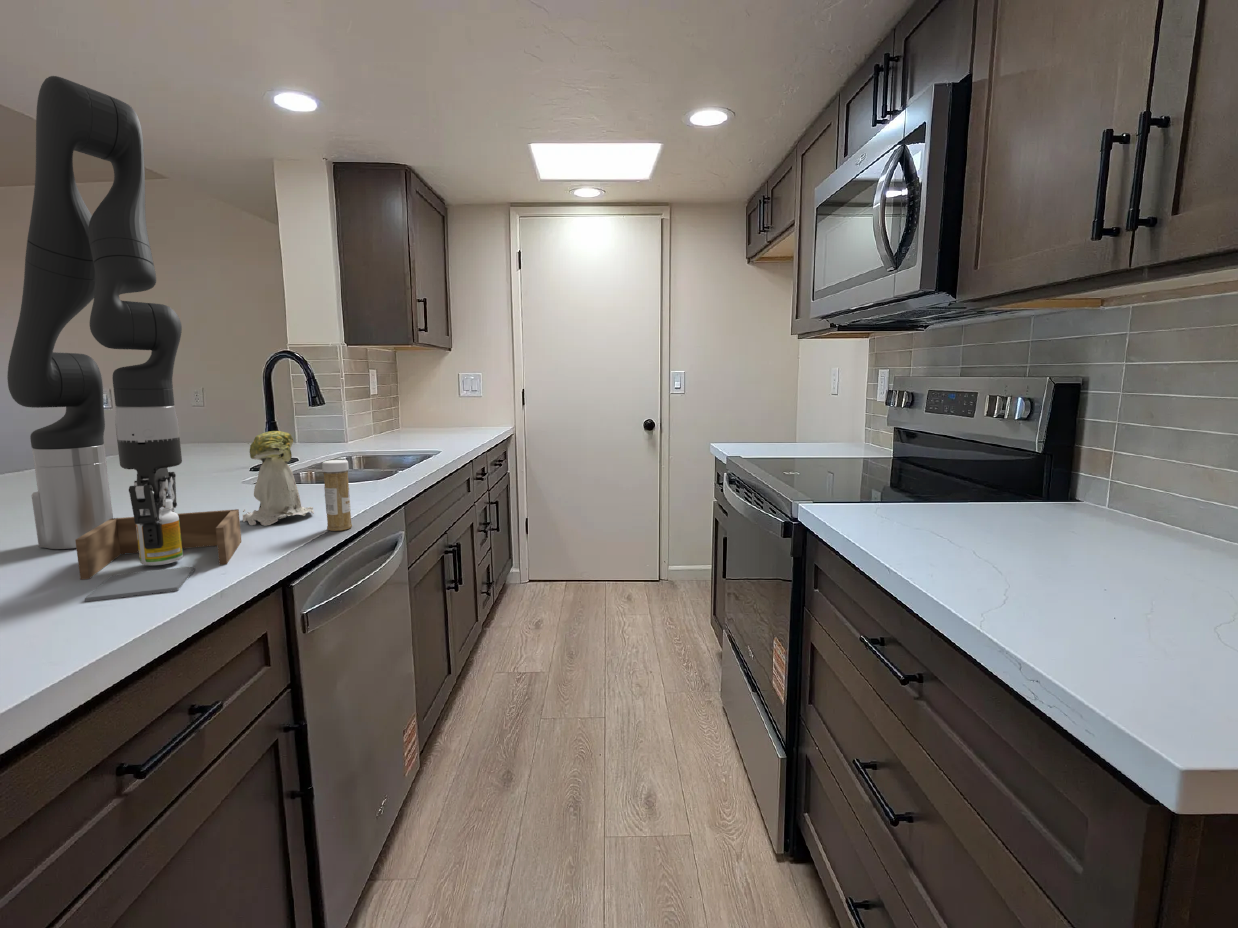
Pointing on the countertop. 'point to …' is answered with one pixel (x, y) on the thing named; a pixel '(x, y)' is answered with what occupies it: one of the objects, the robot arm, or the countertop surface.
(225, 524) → the open box
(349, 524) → the sprinkles bottle
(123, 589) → the grey mat
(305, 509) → the yellow capped ghost figurine
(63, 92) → the robot arm
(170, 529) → the supplement bottle
